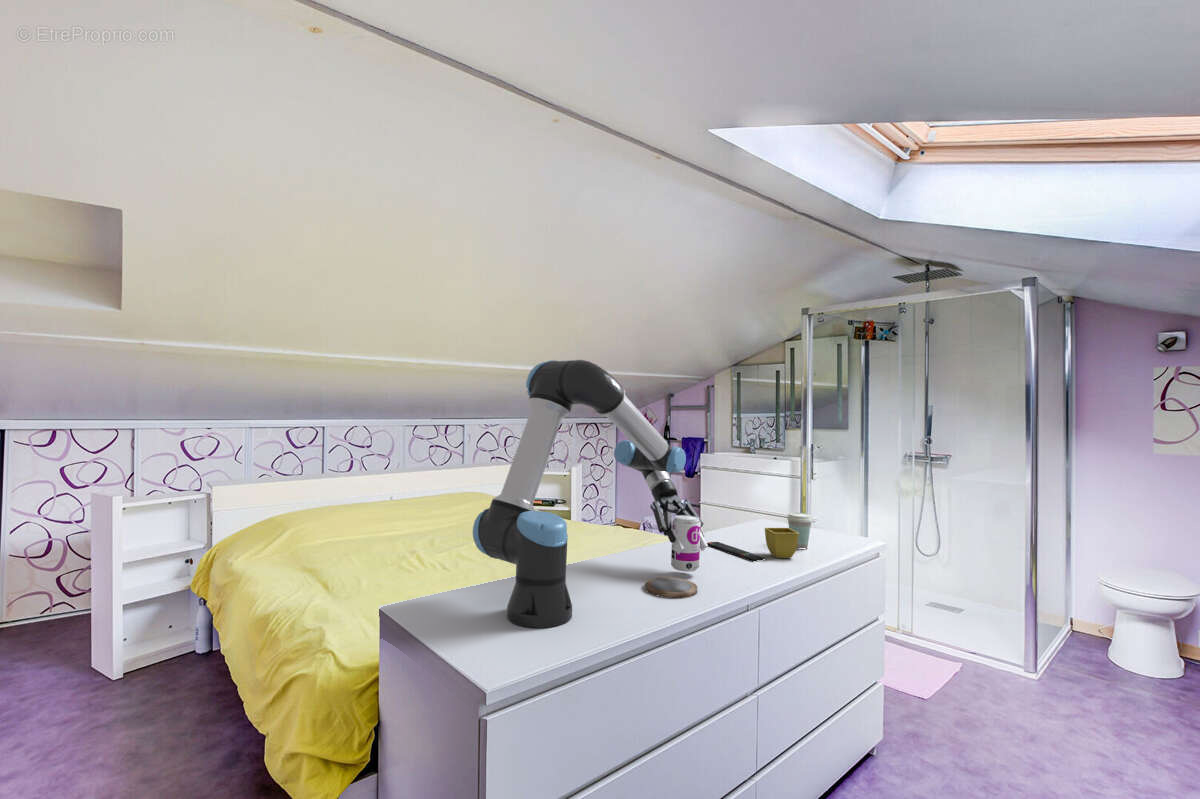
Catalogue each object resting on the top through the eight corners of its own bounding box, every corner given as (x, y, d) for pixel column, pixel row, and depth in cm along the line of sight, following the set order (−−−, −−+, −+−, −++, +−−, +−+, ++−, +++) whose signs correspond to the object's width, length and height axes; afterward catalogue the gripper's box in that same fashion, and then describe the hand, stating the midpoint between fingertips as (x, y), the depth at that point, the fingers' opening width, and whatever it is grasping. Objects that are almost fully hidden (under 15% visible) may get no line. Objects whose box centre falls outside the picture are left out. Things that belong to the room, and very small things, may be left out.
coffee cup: (807, 545, 212) (808, 512, 212) (814, 551, 203) (815, 517, 204) (784, 544, 213) (784, 511, 213) (789, 549, 204) (790, 516, 204)
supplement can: (704, 569, 169) (706, 518, 169) (683, 573, 164) (685, 521, 164) (685, 563, 176) (687, 514, 176) (665, 566, 171) (667, 516, 171)
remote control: (752, 563, 187) (752, 559, 187) (705, 546, 208) (705, 542, 208) (764, 561, 189) (764, 557, 189) (716, 545, 210) (716, 541, 210)
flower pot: (763, 553, 199) (764, 527, 199) (787, 553, 200) (788, 527, 200) (773, 560, 190) (774, 532, 190) (799, 560, 191) (799, 533, 191)
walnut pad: (666, 601, 146) (666, 596, 146) (635, 585, 158) (635, 581, 158) (708, 593, 153) (708, 588, 154) (675, 579, 166) (675, 574, 166)
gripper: (682, 492, 189) (713, 553, 175) (629, 495, 178) (658, 560, 164) (693, 478, 184) (726, 539, 170) (639, 480, 174) (670, 546, 160)
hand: (692, 549), depth 167 cm, fingers closed on supplement can, 8 cm apart
